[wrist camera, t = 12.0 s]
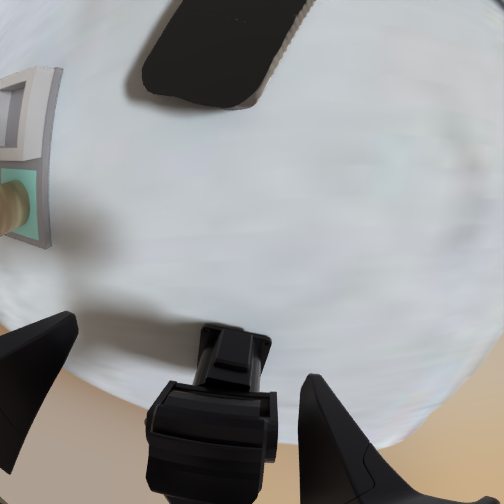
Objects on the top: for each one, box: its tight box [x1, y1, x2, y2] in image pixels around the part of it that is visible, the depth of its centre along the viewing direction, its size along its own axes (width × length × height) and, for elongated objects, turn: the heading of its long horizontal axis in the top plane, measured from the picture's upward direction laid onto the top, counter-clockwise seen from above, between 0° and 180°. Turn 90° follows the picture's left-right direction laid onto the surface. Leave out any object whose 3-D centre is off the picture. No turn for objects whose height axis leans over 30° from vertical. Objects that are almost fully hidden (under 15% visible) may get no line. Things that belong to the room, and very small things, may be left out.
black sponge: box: [142, 0, 316, 110], centre depth 13 cm, size 16×8×4 cm, turn 155°
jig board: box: [0, 66, 63, 249], centre depth 17 cm, size 18×9×4 cm, turn 169°
